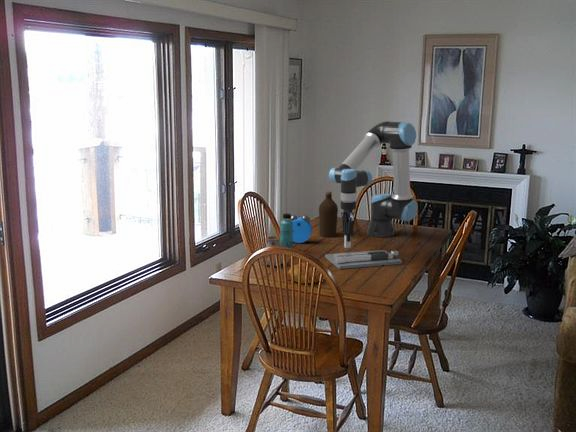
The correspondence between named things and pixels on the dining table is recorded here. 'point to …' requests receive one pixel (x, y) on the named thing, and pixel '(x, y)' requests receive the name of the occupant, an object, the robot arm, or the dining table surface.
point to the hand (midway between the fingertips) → (347, 247)
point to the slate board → (362, 263)
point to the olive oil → (328, 217)
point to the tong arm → (358, 254)
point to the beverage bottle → (286, 231)
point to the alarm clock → (301, 228)
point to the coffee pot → (273, 242)
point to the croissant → (302, 273)
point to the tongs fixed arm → (367, 257)
